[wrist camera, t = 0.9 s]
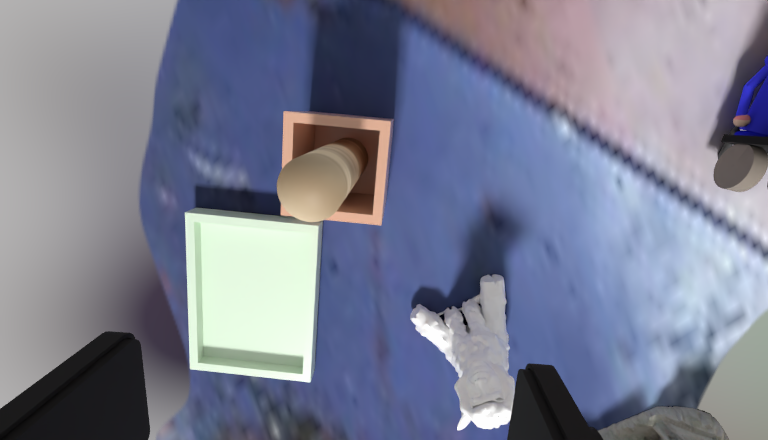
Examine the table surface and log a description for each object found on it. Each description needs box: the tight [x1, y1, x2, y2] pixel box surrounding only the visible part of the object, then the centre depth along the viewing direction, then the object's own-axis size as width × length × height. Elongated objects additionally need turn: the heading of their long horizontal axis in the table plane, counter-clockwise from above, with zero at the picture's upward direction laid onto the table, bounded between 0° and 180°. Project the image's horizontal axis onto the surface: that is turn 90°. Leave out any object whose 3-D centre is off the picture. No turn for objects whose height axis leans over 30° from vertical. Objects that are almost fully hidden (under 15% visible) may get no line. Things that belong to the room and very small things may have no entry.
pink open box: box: [281, 111, 394, 225], centre depth 33 cm, size 7×7×8 cm
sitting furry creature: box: [410, 274, 515, 430], centre depth 35 cm, size 10×9×12 cm
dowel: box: [277, 138, 368, 222], centre depth 29 cm, size 4×4×15 cm
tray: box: [185, 208, 323, 382], centre depth 40 cm, size 16×12×2 cm
